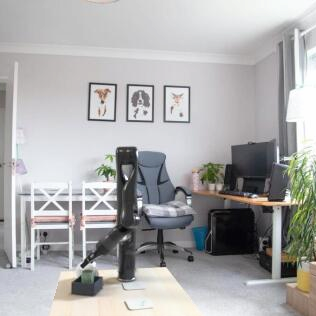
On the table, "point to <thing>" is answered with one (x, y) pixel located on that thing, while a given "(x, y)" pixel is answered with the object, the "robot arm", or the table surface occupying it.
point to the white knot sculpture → (90, 266)
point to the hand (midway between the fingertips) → (85, 264)
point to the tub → (87, 286)
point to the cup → (87, 276)
